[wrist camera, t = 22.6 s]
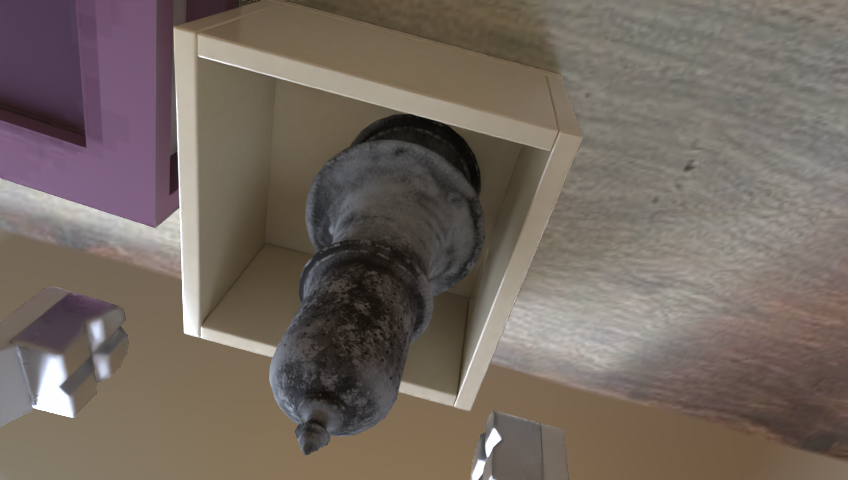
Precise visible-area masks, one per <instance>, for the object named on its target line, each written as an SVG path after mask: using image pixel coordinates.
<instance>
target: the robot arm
mask: <svg viewBox="0 0 848 480" xmlns="http://www.w3.org/2000/svg"><path fill="white" fill-rule="evenodd" d="M125 320H126V318H125V312H124V308H122V307H119V306H117V305H114V304H110V303H107V302H104V301H101V300H97V299H94V298H90V297H88V296H85V295H81V294H78V293H74V292H71V291H67V290H64V289H61V288H57V287H54V286H53V287H49V288H45V289H43V290H42V291H40V292H39V293H37V294H36V295H35V296H33V297H32V298H31V299H30V300H28V301H27V302H25V303H24V304H23V305H21V306H20V307H19V308H17V309H16V310H15V311H13V312H12V313H11V314H10V315H8V316H7V317H6V318H4V319H3V320H2V321H1V322H0V427H1V426H3V425H5V424H7V423H9V422H11V421H13V420H15V419H16V418H19V417H20V416H22V415H24V414H26V413H28V412H30V411H32V410H33V408H36V409H40V410H45V411H48V412H52V413H56V414H60V415H64V416H68V417H72V418H74V417H75V416H76V415H77V414H78V412H80V411H81V410H82V408H83V407H84V406H85V405H86V404H87V403H88V402H89V401H90V400H91V399H92V397H93V396H94V395H95V394H96V393H97V383H98V382H101V381H103V380H105V379H108V378H110V377H112V375H113V374H114V373H115V372H116V371H117V370H118V369H119V367H120V366H121V364H122V362H123V360H124V358H125V356H126V354H127V350H128V344H129V343H128V335H127V334H126V333H125V332H124V330H123V329H122V327H121V326H120V325H121V324H122V323H123V322H124V321H125ZM471 480H569V474H568V463H567V453H566V443H565V434H564V432H563V430H562V429H559V428H555V427H552V426H548V425H545V424H541V423H537V422H534V421H531V420H527V419H523V418H519V417H516V416H512V415H509V414H505V413H501V412H497V411H494V410H493V411H492V412H491V413H490V415H489V417H488V419H487V424H486V432H485V433H483V434H481V435H480V438H479V440H478V443H477V446H476V450H475V453H474V457H473V462H472V469H471Z"/></svg>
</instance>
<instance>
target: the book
mask: <svg viewBox="0 0 848 480" xmlns="http://www.w3.org/2000/svg"><path fill="white" fill-rule="evenodd" d="M235 8H238V0H0V178H2V179H5V180H8V181H11V182H14V183H17V184H20V185H23V186H26V187H30V188H33V189H36V190H39V191H42V192H45V193H48V194H51V195H54V196H58V197H61V198H64V199H67V200H70V201H73V202H76V203H79V204H82V205H86V206H89V207H92V208H95V209H98V210H101V211H104V212H107V213H110V214H114V215H117V216H120V217H123V218H126V219H129V220H132V221H135V222H138V223H142V224H145V225H148V226H151V227H154V228H156V227H157V226H158V225H160V224H161V223H162V222H163V221H164V220H165V219H167V218H168V217H169V216H170V215H171V214H173V213H174V212H175V211H176V210H177V209H178V208H180V205H179V176H178V147H177V119H176V90H175V62H174V33H173V28H174V26H177V25H180V24H184V23H187V22H191V21H194V20H197V19H201V18H204V17H208V16H211V15H214V14H218V13H221V12H225V11H228V10H231V9H235Z"/></svg>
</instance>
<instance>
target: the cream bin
mask: <svg viewBox="0 0 848 480" xmlns="http://www.w3.org/2000/svg"><path fill="white" fill-rule="evenodd" d="M173 33H174V62H175V90H176V119H177V147H178V176H179V205H180V233H181V262H182V289H183V318H184V333H185V334H188V335H192V336H195V337H201V338H203V339H206V340H210V341H214V342H217V343H221V344H225V345H228V346H232V347H236V348H239V349H243V350H247V351H251V352H254V353H258V354H261V355H265V356H269V357H272V358H273V356H274V353H275V351H276V349H277V346H278V345H279V343H280V341H281V339H282V337H283V336H284V334H285V332H286V330H287V328H288V327H289V325H290V323H291V321H292V319H293V318H294V316H295V314H296V312H297V310H298V309H299V307H300V305H301V301H300V297H299V279H300V276H301V274H302V271H303V269H304V266H305V265H306V263H307V262H308V261H309V260H310V259H311V258H312V256H313V255H314V254H315V253H316V252H317V251H316V249H315V247H314V246H313V244H312V242H311V240H310V237H309V233H308V229H307V224H306V220H305V212H306V197H307V195H308V192H309V189H310V187H311V184H312V181H313V179H314V177H315V176H316V175H317V174H318V172H319V171H320V170H321V168H322V167H323V166H324V165H325V163H326V162H327V161H328V160H329V159H331V158H332V157H334V156H335V155H337V154H338V153H340V152H341V151H343V150H344V149H346V148H348V147H350V145H351V143H352V142H353V141H354V140H355V138H356V137H357V136H358V135H359V133H360V132H361V131H362V130H363V129H365V128H366V127H368V126H369V125H370V124H372V123H373V122H375V121H376V120H379V119H382V118H385V117H388V116H391V115H397V114H413V115H416V116H420V117H424V118H428V119H431V120H435V121H439V122H442V123H444V124H446V125H448V126H450V127H451V128H452V129H453V130H454V131H455V132H457V133H458V134H459V135H460V136H461V137H462V138H463V139H464V140H465V141H466V143H467V144H468V146H469V147H470V148H471V150H472V151H473V153H474V154H475V157H476V160H477V163H478V166H479V169H480V178H481V191H480V195H479V201H480V203H481V206H482V209H483V212H484V221H485V239H484V243H483V246H482V250H481V254H480V257H479V259H478V260H477V262H476V263H475V265H474V267H473V268H472V270H471V271H470V273H469V274H468V275H467V276H466V277H465V278H464V279H462V280H461V281H460V282H459V283H458V284H457V285H455V286H454V287H453V288H451V289H449V290H447V291H445V292H443V293H440V294H438V295H436V296H433V302H434V308H433V312H432V317H431V321H430V323H429V325H428V326H427V328H426V330H425V331H424V333H423V334H422V335H421V336H420V337H419V338H417V339H416V340H415V341H414V342H413V343H411V344H410V345H409V350H408V354H407V358H406V362H405V366H404V370H403V375H402V379H401V383H400V387H399V391H398V392H401V393H405V394H409V395H412V396H416V397H419V398H423V399H427V400H431V401H434V402H438V403H442V404H445V405H449V406H453V405H454V407H456V408H459V409H463V410H467V411H470V410H471V408H472V405H473V403H474V401H475V398H476V396H477V393H478V391H479V389H480V386H481V384H482V381H483V379H484V377H485V374H486V372H487V369H488V367H489V364H490V362H491V360H492V357H493V355H494V352H495V350H496V347H497V345H498V343H499V340H500V338H501V335H502V333H503V330H504V328H505V326H506V323H507V321H508V318H509V316H510V314H511V311H512V309H513V306H514V304H515V301H516V299H517V297H518V294H519V292H520V289H521V287H522V284H523V282H524V280H525V277H526V275H527V272H528V270H529V267H530V265H531V263H532V260H533V258H534V255H535V253H536V251H537V248H538V246H539V243H540V241H541V238H542V236H543V234H544V231H545V229H546V226H547V224H548V221H549V219H550V217H551V214H552V212H553V209H554V207H555V204H556V202H557V200H558V197H559V195H560V192H561V190H562V187H563V185H564V183H565V180H566V178H567V175H568V173H569V171H570V168H571V166H572V163H573V161H574V158H575V156H576V154H577V151H578V149H579V146H580V144H581V141H582V139H583V135H582V132H581V129H580V126H579V123H578V121H577V118H576V115H575V112H574V109H573V106H572V103H571V100H570V97H569V94H568V91H567V89H566V86H565V83H564V80H563V77H562V75H560V74H556V73H552V72H548V71H545V70H541V69H537V68H534V67H530V66H526V65H522V64H519V63H515V62H511V61H508V60H504V59H500V58H496V57H493V56H489V55H485V54H481V53H478V52H474V51H470V50H467V49H463V48H459V47H455V46H452V45H448V44H444V43H441V42H437V41H433V40H429V39H426V38H422V37H418V36H414V35H411V34H407V33H403V32H400V31H396V30H392V29H388V28H385V27H381V26H377V25H374V24H370V23H366V22H362V21H359V20H355V19H351V18H347V17H344V16H340V15H336V14H333V13H329V12H325V11H321V10H318V9H314V8H310V7H307V6H303V5H299V4H295V3H292V2H288V1H284V0H262V1H259V2H255V3H252V4H248V5H245V6H242V7H238V8H235V9H231V10H228V11H225V12H221V13H218V14H214V15H211V16H208V17H204V18H201V19H197V20H194V21H191V22H187V23H184V24H180V25H177V26H174V28H173Z"/></svg>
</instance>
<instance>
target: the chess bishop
mask: <svg viewBox="0 0 848 480" xmlns="http://www.w3.org/2000/svg"><path fill="white" fill-rule="evenodd" d="M480 191H481V178H480V169H479V166H478V163H477V160H476V157H475V154H474V153H473V151H472V150H471V148H470V147H469V146H468V144H467V143H466V141H465V140H464V139H463V138H462V137H461V136H460V135H459V134H458V133H457V132H455V131H454V130H453V129H452V128H451V127H450V126H448V125H446V124H444V123H442V122H439V121H435V120H431V119H428V118H424V117H420V116H416V115H413V114H397V115H391V116H388V117H385V118H382V119H379V120H376V121H375V122H373V123H372V124H370V125H369V126H368V127H366V128H365V129H363V130H362V131H361V132H360V133H359V135H358V136H357V137H356V138H355V140H354V141H353V142H352V143H351V145H350V147H348V148H346V149H344V150H343V151H341V152H340V153H338V154H337V155H335V156H334V157H332V158H331V159H329V160H328V161H327V162H326V163H325V165H324V166H323V167H322V168H321V170H320V171H319V172H318V174H317V175H316V176H315V177H314V179H313V181H312V184H311V187H310V189H309V192H308V195H307V197H306V212H305V220H306V224H307V229H308V233H309V237H310V240H311V242H312V244H313V246H314V247H315V249H316V251H317V252H316V253H315V254H314V255H313V256H312V258H311V259H310V260H309V261H308V262H307V263H306V265H305V266H304V269H303V271H302V274H301V276H300V279H299V297H300V301H301V305H300V307H299V309H298V310H297V312H296V314H295V316H294V318H293V319H292V321H291V323H290V325H289V327H288V328H287V330H286V332H285V334H284V336H283V337H282V339H281V341H280V343H279V345H278V346H277V349H276V351H275V353H274V356H273V358H272V362H271V366H270V384H271V387H272V390H273V393H274V396H275V399H276V402H277V404H278V405H279V406H280V408H281V409H282V411H283V412H284V413H285V414H286V415H287V416H288V417H289V418H290V419H291V420H292V421H294V422H296V423H297V424H298V427H297V428H296V430H295V433H296V437H297V438H298V439H299V445H300V447H301V448H302V452H303V454H304V455H308V454H310V453H311V452H314V451H317V450H318V449H319V448H320V447H323V446H326V445H327V444H328V443H329V441H330V436H342V437H343V436H350V435H355V434H358V433H361V432H363V431H366V430H368V429H370V428H371V427H373V426H375V425H376V424H378V423H379V422H380V421H381V420H383V419H384V418H385V417H386V415H387V414H388V412H389V411H390V409H391V408H392V406H393V404H394V402H395V400H396V399H397V395H398V391H399V387H400V383H401V379H402V375H403V370H404V366H405V362H406V358H407V354H408V350H409V345H410V344H411V343H413V342H414V341H415V340H416V339H417V338H419V337H420V336H421V335H422V334H423V333H424V331H425V330H426V328H427V326H428V325H429V323H430V321H431V317H432V312H433V308H434V302H433V296H436V295H438V294H440V293H443V292H445V291H447V290H449V289H451V288H453V287H454V286H455V285H457V284H458V283H459V282H460V281H461V280H462V279H464V278H465V277H466V276H467V275H468V274H469V273H470V271H471V270H472V268H473V267H474V265H475V263H476V262H477V260H478V259H479V257H480V254H481V250H482V246H483V243H484V239H485V221H484V212H483V209H482V206H481V203H480V201H479V195H480Z"/></svg>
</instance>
